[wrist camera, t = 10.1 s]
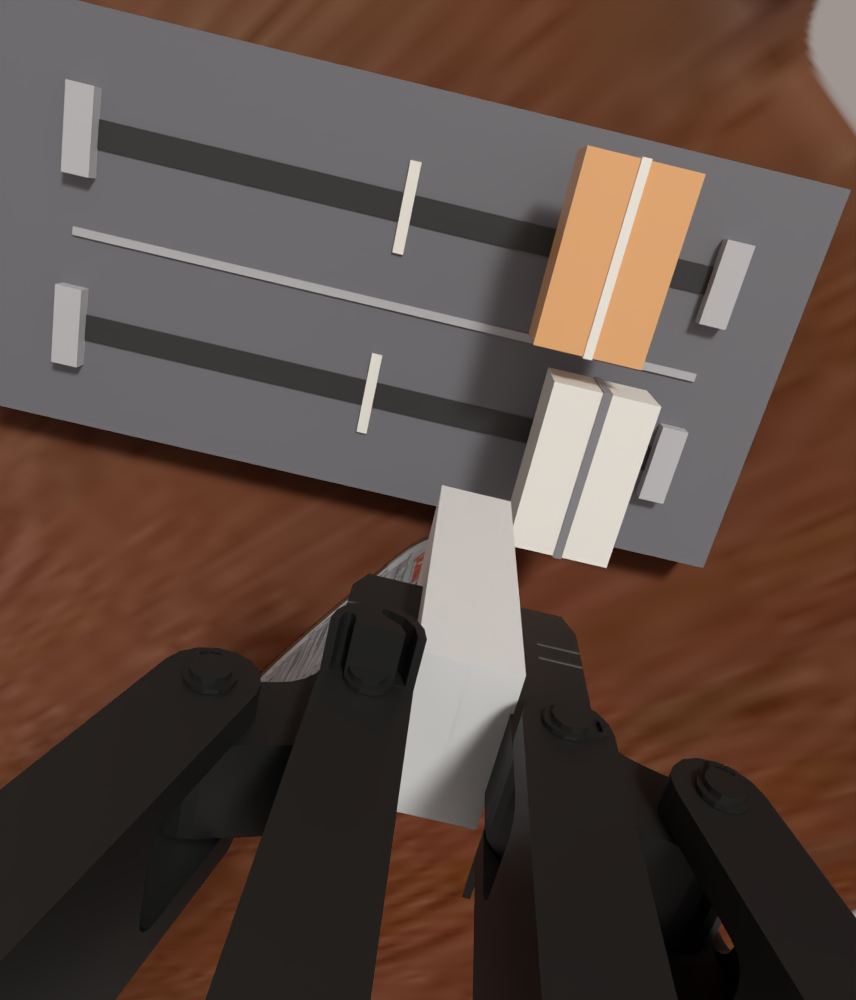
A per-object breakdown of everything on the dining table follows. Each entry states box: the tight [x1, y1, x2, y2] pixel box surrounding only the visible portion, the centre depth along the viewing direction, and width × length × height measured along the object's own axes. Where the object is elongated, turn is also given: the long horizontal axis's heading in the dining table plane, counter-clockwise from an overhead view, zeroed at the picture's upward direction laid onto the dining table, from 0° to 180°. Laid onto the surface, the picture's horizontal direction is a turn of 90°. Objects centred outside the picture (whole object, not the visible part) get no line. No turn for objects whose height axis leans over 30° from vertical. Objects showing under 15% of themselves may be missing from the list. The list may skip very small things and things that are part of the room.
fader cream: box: [511, 367, 661, 568], centre depth 29 cm, size 4×6×4 cm, turn 167°
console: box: [0, 0, 851, 568], centre depth 31 cm, size 30×15×3 cm, turn 77°
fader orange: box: [529, 145, 706, 370], centre depth 26 cm, size 4×6×4 cm, turn 167°
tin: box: [260, 535, 429, 682], centre depth 33 cm, size 15×3×8 cm, turn 133°
